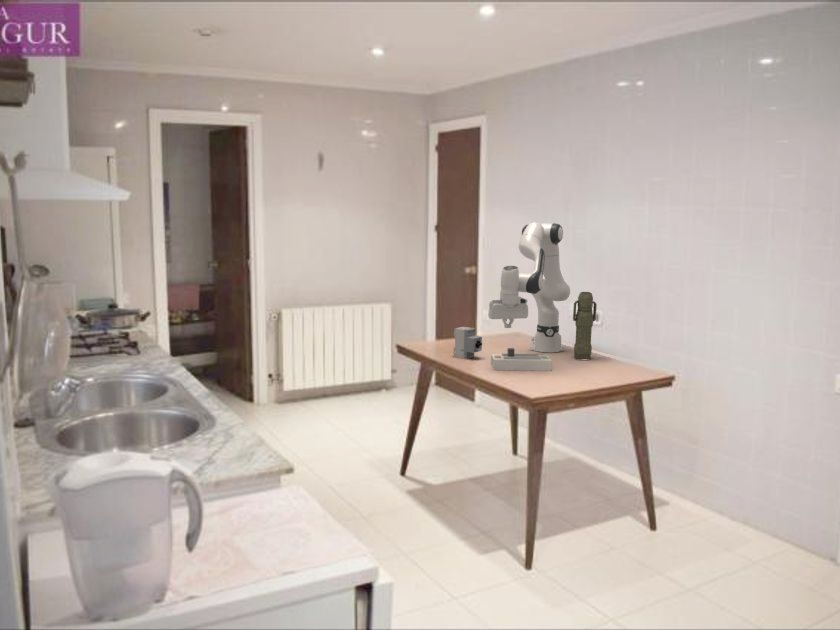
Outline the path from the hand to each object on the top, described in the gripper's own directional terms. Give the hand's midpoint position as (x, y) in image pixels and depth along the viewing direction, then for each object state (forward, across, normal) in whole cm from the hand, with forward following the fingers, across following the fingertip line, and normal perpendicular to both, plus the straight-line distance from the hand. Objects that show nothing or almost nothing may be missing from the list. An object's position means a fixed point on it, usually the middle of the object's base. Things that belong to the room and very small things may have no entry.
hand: (507, 327), depth 352 cm
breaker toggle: (+14, +2, 0) cm, 15 cm away
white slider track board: (+20, +7, -2) cm, 21 cm away
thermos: (+19, +49, +8) cm, 53 cm away
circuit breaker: (+20, -8, +26) cm, 34 cm away
